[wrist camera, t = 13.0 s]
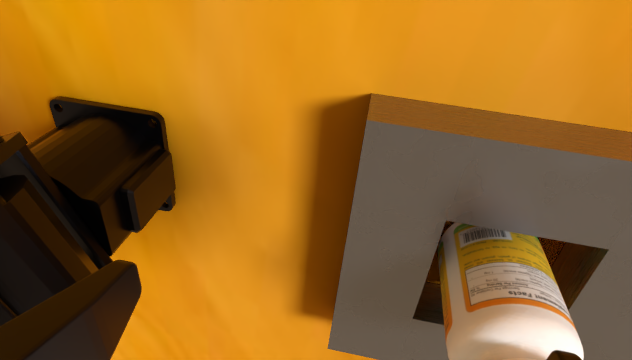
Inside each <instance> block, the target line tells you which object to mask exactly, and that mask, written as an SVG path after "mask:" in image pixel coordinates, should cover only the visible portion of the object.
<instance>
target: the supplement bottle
mask: <svg viewBox="0 0 632 360" xmlns="http://www.w3.org/2000/svg"><path fill="white" fill-rule="evenodd" d="M438 265H439V274H440V285H441V294H442V305H443V316H444V327H445V339H446V346H447V352H448V358H449V360H546V359H547V358H548V356H549V355H550V353H551V352H552V351H554V350H561V351H566V352H570V353H574V354H576V355H578V356H579V357H580V358H581V359H582V360H583V359H584V353H583V347H582V344H581V341H580V338H579V336H578V333H577V331H576V328H575V326H574V323H573V321H572V319H571V316H570V314H569V312H568V309H567V307H566V304H565V302H564V299H563V297H562V295H561V292H560V290H559V287H558V285H557V282H556V280H555V278H554V275H553V273H552V270H551V268H550V265H549V263H548V260H547V258H546V255H545V253H544V251H543V248H542V246H541V243H540V241H539V239H538V237H536V236H530V235H525V234H519V233H513V232H508V231H502V230H496V229H491V228H485V227H480V226H474V225H468V224H463V223H457V222H455V223H454V224H452V225H451V226H450V227H449V228H448V229H447V230H446V231H445V233H444V234H443V236H442V237H441V239H440V242H439V245H438Z"/></svg>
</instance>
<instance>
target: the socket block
mask: <svg viewBox="0 0 632 360" xmlns="http://www.w3.org/2000/svg"><path fill="white" fill-rule="evenodd" d="M446 221H452V222H457V223H463V224H468V225H474V226H480V227H485V228H491V229H496V230H502V231H508V232H513V233H519V234H525V235H530V236H536V237H541V238H547V239H553V240H558V241H564V242H566V243H565V245H564V246H563V248H562V250H561V252H560V253H559V255H558V257H557V259H556V260H555V262H554V264H553V266H552V267H551V270H552V273H553V275H554V278H555V280H556V282H557V285H558V287H559V290H560V292H561V295H562V297H563V299H564V302H565V304H566V307H567V309H568V312H569V314H570V316H571V319H572V321H573V323H574V326H575V328H576V331H577V333H578V336H579V338H580V341H581V344H582V347H583V353H584V359H583V360H632V132H625V131H618V130H612V129H605V128H598V127H592V126H585V125H578V124H572V123H565V122H558V121H552V120H545V119H538V118H531V117H525V116H518V115H511V114H505V113H498V112H491V111H485V110H478V109H471V108H465V107H458V106H451V105H445V104H438V103H431V102H425V101H418V100H411V99H405V98H398V97H391V96H385V95H378V94H371V99H370V105H369V110H368V116H367V121H366V127H365V133H364V139H363V145H362V151H361V156H360V162H359V168H358V174H357V180H356V186H355V192H354V198H353V203H352V209H351V215H350V221H349V227H348V233H347V239H346V244H345V250H344V256H343V262H342V268H341V274H340V280H339V286H338V291H337V297H336V303H335V309H334V315H333V321H332V327H331V332H330V338H329V344H328V349H332V350H336V351H341V352H346V353H350V354H355V355H360V356H364V357H369V358H374V359H378V360H449V358H448V352H447V346H446V339H445V327H444V316H443V305H442V294H441V285H438V284H433V283H428V282H425V281H426V278H427V275H428V272H429V269H430V266H431V263H432V260H433V257H434V254H435V251H436V249H437V246H438V243H439V240H440V237H441V234H442V231H443V228H444V225H445V222H446Z"/></svg>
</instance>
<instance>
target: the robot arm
mask: <svg viewBox="0 0 632 360" xmlns="http://www.w3.org/2000/svg"><path fill="white" fill-rule="evenodd" d="M60 105H61V106H62V108H63V109H62V108H61V107H60ZM50 108H51V112H52V115H53V118H54V121H55V125H56V128H54V129H53V130H51V131H50V132H48V133H46V134H45V135H43V136H42V137H40V138H38V139H37V140H35V141H34V142H32V143H30V144H29V145H26V144H27V143H28V142H27V141H26V140H25V138H24V137H23V136H22V134H21V133H20V132H16V133H12V134H9V135H5V136H0V360H110V359H111V357H112V355H113V353H114V351H115V349H116V347H117V345H118V343H119V340H120V338H121V336H122V334H123V332H124V330H125V328H126V326H127V323H128V321H129V319H130V317H131V315H132V313H133V311H134V308H135V306H136V304H137V302H138V300H139V298H140V295H141V282H140V278H139V274H138V269H137V266H136V264H135V263H133V262H128V261H124V260H116V261H112V259H111V258H110V257H109V256H112V255H113V253H114V252H115V251H116V250H117V249H118V247H119V246H120V245H121V244H122V243H123V242H124V240H125V239H126V238H127V237H128V236H129V235H130V233H131V232H135V233H138V232H139V231H141V230H142V229H143V228H144V226H145V225H146V224H147V223H148V222H149V220H150V219H151V218H152V217H153V216H154V214H155V213H156V212H157V211H158V210H163V211H170V210H172V208H173V207H174V206H175V203H176V202H175V194H174V190H175V180H174V172H173V164H172V157H171V153H170V152H169V149H168V142H167V135H166V127H165V121H164V118H163V117H162V116H161V115H160V114H159V113H156V112H152V111H146V110H140V109H133V108H127V107H121V106H115V105H109V104H103V103H97V102H91V101H84V100H78V99H72V98H66V97H57V98H55V99H53V100H51V101H50ZM152 119H153V120H154V121H155V122H156V123H157V125H156V124H154V123H153V122H152ZM165 202H167V203H168V204H167V203H165ZM546 360H582V359H581V358H580V357H579V356H578V355H576V354H574V353H570V352H566V351H561V350H554V351H552V352H551V353H550V355H549V356H548V358H547V359H546Z"/></svg>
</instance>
